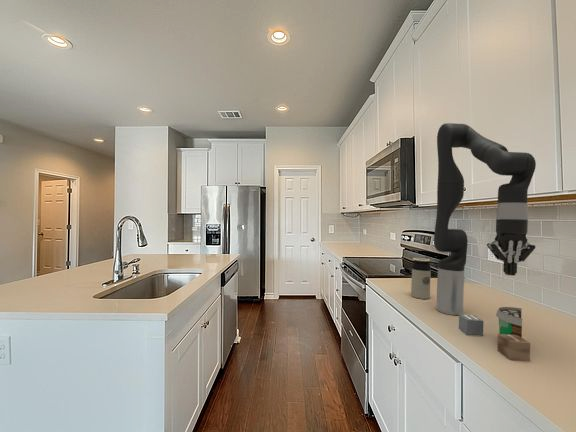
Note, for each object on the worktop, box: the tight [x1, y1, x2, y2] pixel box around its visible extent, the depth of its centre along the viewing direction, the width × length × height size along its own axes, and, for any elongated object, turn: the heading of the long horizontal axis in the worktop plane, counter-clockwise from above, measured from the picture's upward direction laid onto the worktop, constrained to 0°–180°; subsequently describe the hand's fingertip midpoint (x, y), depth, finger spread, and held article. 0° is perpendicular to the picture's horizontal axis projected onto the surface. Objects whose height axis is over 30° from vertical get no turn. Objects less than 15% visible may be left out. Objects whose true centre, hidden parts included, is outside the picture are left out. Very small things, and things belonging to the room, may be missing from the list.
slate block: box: [458, 314, 484, 337], centre depth 92 cm, size 5×5×5 cm
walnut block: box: [497, 333, 531, 362], centre depth 77 cm, size 5×5×5 cm
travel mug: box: [410, 257, 432, 300], centre depth 131 cm, size 8×8×18 cm
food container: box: [495, 306, 523, 338], centre depth 85 cm, size 12×6×10 cm, turn 141°
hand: (509, 274), depth 85 cm, fingers closed
